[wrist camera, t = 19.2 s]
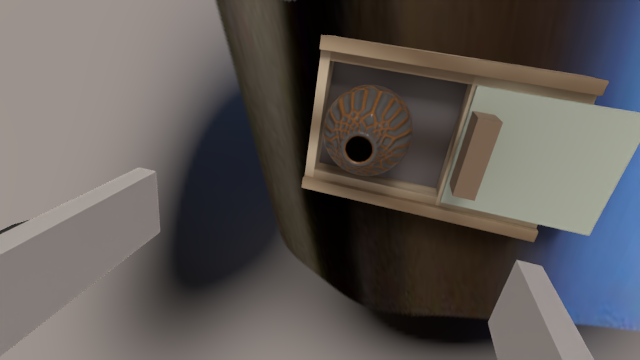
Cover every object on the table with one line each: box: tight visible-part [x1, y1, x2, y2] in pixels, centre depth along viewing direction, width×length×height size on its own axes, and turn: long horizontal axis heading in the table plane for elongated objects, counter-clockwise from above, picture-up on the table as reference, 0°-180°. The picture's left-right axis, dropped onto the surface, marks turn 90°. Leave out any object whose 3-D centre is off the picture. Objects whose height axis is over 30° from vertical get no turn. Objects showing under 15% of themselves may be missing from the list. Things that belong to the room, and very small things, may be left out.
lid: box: [440, 85, 640, 236], centre depth 25 cm, size 10×11×3 cm
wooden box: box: [302, 35, 609, 242], centre depth 29 cm, size 13×20×3 cm, turn 82°
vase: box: [323, 85, 413, 176], centre depth 27 cm, size 7×7×9 cm
